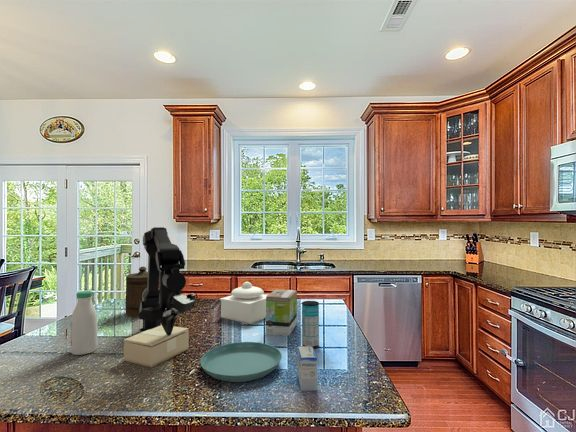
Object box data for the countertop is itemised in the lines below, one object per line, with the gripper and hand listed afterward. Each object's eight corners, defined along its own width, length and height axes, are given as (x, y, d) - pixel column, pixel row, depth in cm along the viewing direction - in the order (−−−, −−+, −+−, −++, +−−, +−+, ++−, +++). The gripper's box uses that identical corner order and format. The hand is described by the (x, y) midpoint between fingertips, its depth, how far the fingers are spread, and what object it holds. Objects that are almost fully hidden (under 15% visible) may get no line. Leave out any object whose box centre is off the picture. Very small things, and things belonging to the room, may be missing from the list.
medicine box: (297, 377, 94) (297, 346, 94) (313, 376, 94) (312, 345, 94) (300, 391, 86) (300, 357, 86) (317, 390, 87) (317, 357, 87)
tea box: (290, 336, 127) (290, 297, 127) (264, 334, 129) (264, 296, 129) (297, 324, 142) (297, 289, 142) (274, 323, 144) (274, 288, 144)
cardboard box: (123, 360, 106) (123, 341, 106) (162, 343, 120) (162, 326, 120) (152, 367, 100) (152, 347, 101) (188, 349, 115) (188, 331, 115)
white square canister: (274, 314, 157) (274, 280, 158) (249, 324, 142) (249, 287, 142) (246, 309, 167) (246, 277, 167) (220, 318, 152) (220, 283, 152)
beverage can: (320, 343, 120) (320, 301, 120) (317, 349, 114) (317, 305, 114) (304, 341, 121) (303, 300, 121) (300, 347, 116) (300, 304, 116)
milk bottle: (102, 348, 116) (102, 290, 116) (82, 357, 109) (82, 295, 109) (86, 345, 118) (86, 288, 119) (65, 354, 111) (65, 293, 111)
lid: (123, 341, 106) (123, 339, 106) (162, 326, 120) (162, 324, 120) (151, 346, 101) (151, 343, 101) (188, 330, 115) (188, 327, 115)
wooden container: (151, 316, 154) (151, 268, 154) (119, 316, 154) (119, 268, 154) (163, 308, 169) (163, 264, 169) (134, 308, 169) (134, 264, 169)
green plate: (207, 352, 112) (207, 342, 113) (279, 350, 114) (279, 340, 114) (192, 388, 88) (192, 376, 88) (284, 385, 90) (284, 372, 90)
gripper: (166, 294, 97) (166, 348, 96) (207, 283, 114) (207, 329, 113) (138, 291, 101) (138, 343, 101) (181, 280, 118) (181, 325, 118)
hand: (168, 334), depth 108 cm, fingers closed
